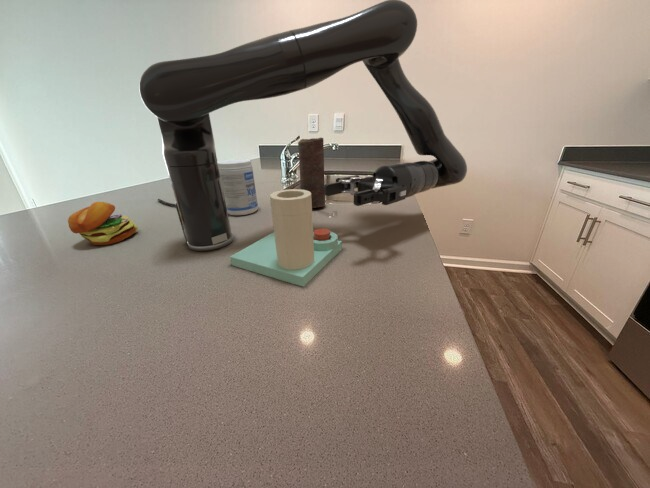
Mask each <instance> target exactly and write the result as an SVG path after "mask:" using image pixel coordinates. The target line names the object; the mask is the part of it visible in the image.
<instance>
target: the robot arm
mask: <svg viewBox="0 0 650 488" xmlns="http://www.w3.org/2000/svg"><path fill="white" fill-rule="evenodd" d="M417 32H418V18H417V15H416V12H415V10H414V9H413V7H411V5H410V4H408V3H407V2H405V1H404V0H384V1H381V2H379V3H376V4H374V5H371V6H370V7H367V8H365V9H362V10H360V11H357V12H356V13H352V14H350V15H346V16H344V17H341V18H337V19H331V20H327V21H324V22H319V23H315V24H312V25H308V26H304V27H299V28H293V29H290V30H286V31H282V32H277V33H274V34H271V35H268V36H265V37H261V38H259V39H256V40H253V41H249V42H245V43H244V44H240V45H238V46H235V47H232V48H230V49H228V50H225V51H222V52H219V53H214V54H210V55H204V56H196V57H189V58H181V59H173V60H172V59H171V60H164V61H158V62H155V63H153V64H151V65H150V66H148V67H147V68H146V69H145V70H144V71H143V73H142V75H141V77H140V80H139V85H138V90H139V95H140V99H141V101H142V103H143V104H144V106H145V108H146V109H147V110H148V111H149V112H150V113H151V114H152V115H154V116H155V117H156V119H157V123H158V127H159V131H160V135H161V141H162V156H163V161H164V165H165V167H166V170H167V174H168V178H169V181H170V183H171V188H172V191H173V195H174V199H175V203H170V202H167V201H164V200H163V199H160V198H157V202H160V203H161V204H164V205H167V206H171V207H175V208H176V213H177V216H178V219H179V223H180V226H181V230H182V233H183V238H184V240H185V243H186V245H187V247H188V249H189V250H191V251H195V252H210V251H214V250H219V249H222V248H225V247H226V246H229V245H230V244H231V243H233V241H234V235H233V233H232V229H231V223H230V219H229V214H228V212H227V207H226V202H225V197H224V192H223V187H222V182H221V177H220V172H219V167H218V162H219V161H218V157H217V149H216V143H215V137H214V132H213V127H212V122H211V117H210V113H212V112H216V111H217V110H220V109H222V108H225V107H227V106H230V105H234V104H237V103H241V102H247V101H248V102H249V101H258V100H266V99H272V98H277V97H282V96H286V95H290V94H292V93H296V92H299V91H304V90H306V89H309V88H311V87H314V86H316V85H318V84H319V83H321V82H323V81H326V80H327V79H329V78H331V77H332V76H334V75H335V74H337V73H339V72H340V71H342V70H344V69H346V68H348V67H350V66H352V65H354V64H357V63H360V62H362V63H363V65H364V66H365V68H366V69H367V71H368V72H369V73H370V75H371V76H372V78H373V79H374V81H375V83H377V85H378V87H379V88H380V89H381V91H382V92H383V94H384V95H385V97H386V99H387V100H388V102H389V103H390V105H391V106H392V108H393V109H394V111H395V113H396V115H397V116H398V118H399V120H400V122H401V125H403V127H404V130H405V132H406V134H407V136H408V138H409V140H410V142H411V145H412V147H413V149H414V151H415V153H416V154H417V155H418V156H431V157H434V158H435V159H431V160H417V161H412V162H409V161H405V162H404V161H403V162H398V163H392V164H385V165H382V166H379V167H378V168H376V169H375V170H374V172H373V173H372V174H371V175H365V176H360V175H358V174H355V175H349V176H343V177H337V178H335V182H329V183H325V186H324V194H325V197H326V196H327V197H330V196H335V195H336V196H337V195H340V194H350V196H353V205H354V206H357V207H359V206H363V205H367V204H374V205H375V204H379V203H381V205H383V206H389V205H392V204H395V203H398V202H401V201H403V200H406V199H407V198H411V197H414V196H415V195H417V194H421V193H424V192H427V191H430V190H431V189H437V188H443V187H446V186H452V185H456V184H459V183H461V182H463V180H464V179H465V178H466V176H467V173H468V164H467V162H466V159H465V157H464V156H463V154H462V153H461V152H460V151H459V150H458V148H457V147H456V146H455V145H454V144H453V142H452V141H451V140H450V139H449V138H448V137H447V135H446V134H445V132H444V128H443V127H442V125H441V122H440V119H439V117H438V114H437V112H436V110H435V109H434V107H433V106H432V104H431V103H430V102H429V101H428V99H427V98H426V97H424V95H423V94H422V93H421V92H419V90H417V88H415V86H414V85H413V84H412V83H411V81H410V80H409V79H408V77H407V76H406V74H405V72H404V69H403V67H402V64H401V62H400V59H399V58H401V56H403V55H404V54H405V53H406V52H407V50H409V48H410V47H411V45H412V44H413V42H414V40H415V38H416V33H417ZM355 189H357V190H355Z"/></svg>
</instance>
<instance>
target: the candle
mask: <svg viewBox="0 0 650 488" xmlns="http://www.w3.org/2000/svg"><path fill="white" fill-rule="evenodd" d="M324 144H325V143H324V137H318V138H317V137H316V138H302V139H300V140H299V141H298V142H297V146H298V147H297V149H298V163H299V166H298V167H299V181H300V182H299V183H300V184H299V186H300V189H301V190H307V191H310V192H311V198H312V209H316V208H321V207H325V206H326V195H325V194H324V186H325V184H326V183H325V151H324V150H325V148H324Z"/></svg>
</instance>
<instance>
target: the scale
mask: <svg viewBox="0 0 650 488" xmlns="http://www.w3.org/2000/svg"><path fill="white" fill-rule="evenodd" d="M313 239H314V231H313ZM342 249H343V240H339V239H338V234H336V233H335V232H333V231H330V239H329V240H326V241H318V240H314V262H313V263H312V264H311V265H310V266H308V267H306V268H303V269H298V270H289V269H285V268H282V267H281V266H279V264H278V259H277V252H276V243H275V235H274V231H273V232H271V233H270V234H268V235H265V236H264V237H261V238H260V239H259V240H257V241H255V242H253V243H251V244H250V245H248V246H246V247H244V248H243V249H241V250H239V251H237V252H236V253H233V254H232V255H230V256H229V259H230V264H231V266H232V267H236V268H239V269H242V270H246V271H249V272H252V273H256V274H260V275H263V276H265V277H270V278H272V279H276V280H279V281H282V282H286V283H289V284H293V285H296V286H299V287H303V288H304V287H305V286H306V285H307V284H308V283H309V282H310V281H311V280H312V279H313V278H314V277H315V276H316V275H317V274H319V272H321V270H322V269H323V268H324V267H326V266H327V264H329V263H330V262H331V260H333V259H334V258H335V257H336V255H338V254H339V253H340V252H341V251H342Z"/></svg>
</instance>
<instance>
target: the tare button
mask: <svg viewBox="0 0 650 488" xmlns="http://www.w3.org/2000/svg"><path fill="white" fill-rule="evenodd" d="M313 232H314V240H318V241H326V240H329V239H330V232H331V230H330V229H328V228H317V229H314V230H313Z"/></svg>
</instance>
